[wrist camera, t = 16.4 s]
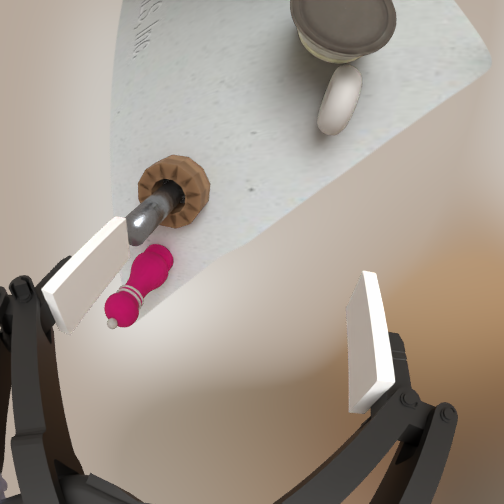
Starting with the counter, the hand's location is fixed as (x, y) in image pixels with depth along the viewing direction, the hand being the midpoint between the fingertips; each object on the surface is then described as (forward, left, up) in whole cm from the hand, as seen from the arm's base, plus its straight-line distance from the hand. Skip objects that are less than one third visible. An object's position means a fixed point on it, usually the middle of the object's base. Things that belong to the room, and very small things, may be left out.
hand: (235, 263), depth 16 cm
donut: (-8, +6, -32) cm, 33 cm away
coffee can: (-18, +4, -32) cm, 37 cm away
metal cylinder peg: (+11, -16, -31) cm, 37 cm away
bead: (+11, -16, -31) cm, 37 cm away
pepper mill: (+27, -20, -32) cm, 46 cm away
